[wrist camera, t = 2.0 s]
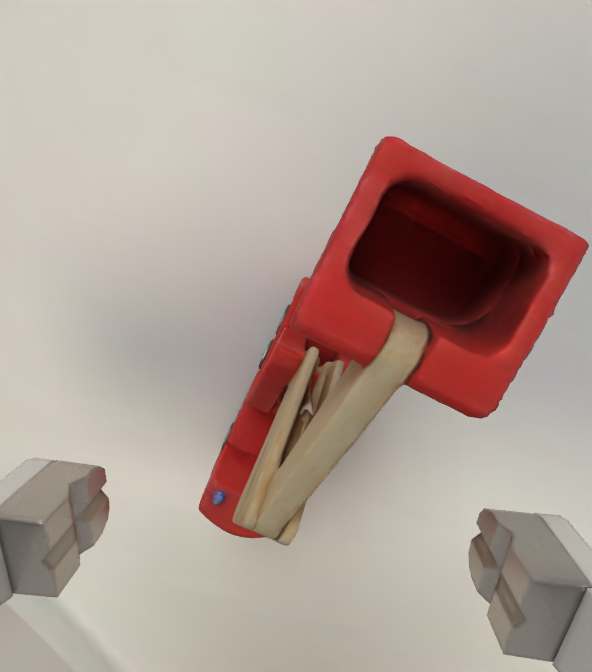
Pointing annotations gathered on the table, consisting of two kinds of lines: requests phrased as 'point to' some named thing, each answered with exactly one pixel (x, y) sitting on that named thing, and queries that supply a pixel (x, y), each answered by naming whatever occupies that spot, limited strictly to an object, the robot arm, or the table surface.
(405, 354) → the toy fire truck
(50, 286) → the table surface
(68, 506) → the robot arm
